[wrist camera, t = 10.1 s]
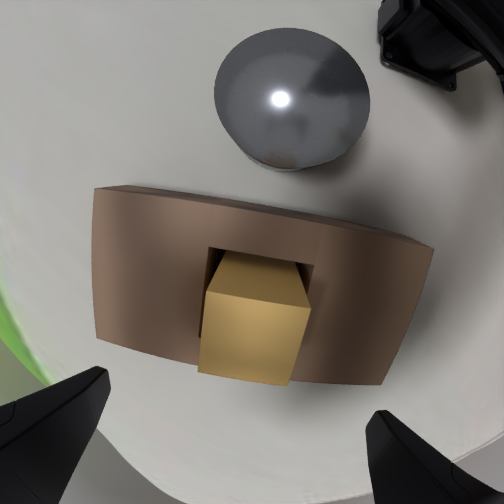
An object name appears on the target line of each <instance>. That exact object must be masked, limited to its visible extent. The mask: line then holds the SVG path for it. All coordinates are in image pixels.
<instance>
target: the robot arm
mask: <svg viewBox="0 0 504 504" xmlns="http://www.w3.org/2000/svg"><path fill="white" fill-rule="evenodd" d="M378 33H379V35H380V36H381V58H382V60H383V61H384V62H386V63H388V64H391V65H393V66H396V67H398V68H401V69H403V70H405V71H408V72H410V73H412V74H415V75H417V76H419V77H421V78H423V79H425V80H427V81H430V82H432V83H434V84H436V85H438V86H440V87H442V88H443V89H445V90H447V91H449V92H453V91H455V90H456V88H457V86H456V73H458V72H460V71H462V70H465V69H467V68H469V67H471V66H474V65H476V64H479V63H481V62H483V61H486V60H487V62H488V63H489V64H490V65H491V66H492V68H493V69H494V70H495V71H496V74H497V76H498V77H499V78H500V79H501V81H504V0H382V2H381V7H380V8H379V10H378ZM386 55H389V57H390V58H388V57H387V56H386ZM449 84H450V85H451V87H450V85H449ZM110 391H111V385H110V379H109V373H108V370H107V369H105V368H102V367H99V366H94V367H92V368H90V369H88V370H86V371H83V372H81V373H79V374H77V375H74V376H72V377H70V378H67V379H65V380H63V381H61V382H58V383H56V384H54V385H51V386H49V387H47V388H44V389H42V390H39V391H37V392H35V393H32V394H30V395H28V396H25V397H23V398H20V399H18V400H16V401H13V402H10V403H8V404H5V405H2V406H0V504H59V501H60V499H61V497H62V495H63V493H64V490H65V489H66V486H67V484H68V482H69V480H70V478H71V476H72V474H73V472H74V470H75V468H76V466H77V464H78V462H79V460H80V458H81V456H82V454H83V452H84V450H85V448H86V446H87V444H88V442H89V441H90V439H91V437H92V435H93V433H94V431H95V429H96V427H97V425H98V422H99V420H100V417H101V414H102V412H103V409H104V407H105V404H106V401H107V399H108V396H109V394H110ZM366 443H367V456H368V466H369V472H370V478H371V483H372V489H373V495H374V501H375V504H504V493H502V492H499V491H497V490H495V489H493V488H491V487H489V486H488V485H486V484H484V483H482V482H481V481H479V480H477V479H476V478H474V477H473V476H471V475H469V474H468V473H466V472H465V471H464V470H462V469H461V468H459V467H458V466H456V465H455V464H454V463H453V462H452V463H451V461H450V460H449V459H448V458H446V457H445V456H444V455H442V454H441V453H440V452H439V451H437V450H436V449H435V448H433V447H432V446H431V445H430V444H428V443H427V442H426V441H425V440H423V439H422V438H421V437H420V436H418V435H417V434H416V433H415V432H413V431H412V430H411V429H410V428H408V427H407V426H406V425H405V424H404V423H402V422H401V421H400V420H399V419H397V418H396V417H395V416H394V415H393V414H391V413H390V412H389V411H387V410H378V411H376V412H375V413H374V414H373V416H372V418H371V419H370V421H369V422H368V424H367V426H366Z"/></svg>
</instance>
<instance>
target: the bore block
mask: <svg viewBox="0 0 504 504" xmlns="http://www.w3.org/2000/svg"><path fill="white" fill-rule="evenodd" d="M218 248H220V249H225V250H231V251H237V252H243V253H248V254H254V255H260V256H265V257H271V258H277V259H283V260H288V261H294V262H300V268H299V275H300V278H301V281H302V284H303V287H304V289H305V292H306V295H307V298H308V301H309V304H310V307H311V311H310V314H309V318H308V321H307V325H306V328H305V332H304V335H303V338H302V342H301V345H300V348H299V351H298V354H297V358H296V361H295V364H294V367H293V370H292V373H291V376H290V379H289V380H292V381H302V382H314V383H328V384H347V385H381V384H382V382H383V380H384V378H385V376H386V374H387V372H388V370H389V368H390V366H391V364H392V362H393V360H394V358H395V356H396V354H397V351H398V349H399V347H400V345H401V342H402V340H403V338H404V335H405V333H406V331H407V328H408V326H409V323H410V321H411V318H412V316H413V313H414V310H415V308H416V305H417V302H418V300H419V297H420V294H421V291H422V288H423V285H424V282H425V279H426V276H427V272H428V269H429V266H430V262H431V259H432V255H433V252H434V249H433V248H431V247H429V246H427V245H425V244H423V243H421V242H419V241H416V240H414V239H412V238H410V237H408V236H406V235H402V234H398V233H394V232H390V231H386V230H382V229H377V228H373V227H369V226H364V225H360V224H355V223H351V222H346V221H341V220H337V219H332V218H327V217H322V216H318V215H313V214H308V213H302V212H297V211H292V210H287V209H281V208H276V207H271V206H265V205H259V204H254V203H248V202H242V201H236V200H230V199H223V198H217V197H211V196H204V195H197V194H190V193H183V192H176V191H169V190H161V189H153V188H145V187H137V186H128V185H122V186H112V187H103V188H94V201H93V216H92V290H93V306H94V318H95V328H96V337H97V338H98V339H101V340H104V341H107V342H110V343H113V344H116V345H120V346H123V347H126V348H130V349H133V350H136V351H140V352H143V353H147V354H151V355H155V356H158V357H162V358H166V359H170V360H174V361H179V362H183V363H187V364H192V365H197V366H198V362H199V352H200V342H201V333H202V324H203V315H204V306H205V298H206V291H207V289H208V286H209V284H210V282H211V280H212V278H213V276H214V271H215V263H216V256H217V249H218Z"/></svg>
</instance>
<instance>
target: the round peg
mask: <svg viewBox="0 0 504 504" xmlns="http://www.w3.org/2000/svg"><path fill="white" fill-rule="evenodd" d="M214 99H215V106H216V110H217V113H218V116H219V118H220V120H221V122H222V125H223V126H224V128H225V129H226V131H227V132H228V134H229V135H230V136H231V138H232V139H233V140H234V141H235V143H236V144H237V145H238V146H239V148H240V149H241V150H242V151H243V153H244V154H245V155H246V156H247V157H248V158H249V159H250V160H252V161H253V162H254V163H256V164H258V165H260V166H261V167H264V168H266V169H270V170H274V171H281V172H288V171H295V170H299V169H303V168H307V167H312V166H316V165H320V164H324V163H326V162H329V161H331V160H333V159H335V158H337V157H339V156H341V155H342V154H343V153H345V152H346V151H347V150H349V149H350V148H351V147H352V146H353V145H354V144H355V143H356V141H357V140H358V139H359V137H360V136H361V134H362V132H363V130H364V129H365V126H366V123H367V121H368V117H369V112H370V95H369V89H368V85H367V82H366V79H365V77H364V74H363V73H362V71H361V69H360V67H359V66H358V64H357V63H356V61H355V60H354V59H353V58H352V57H351V55H350V54H349V53H348V52H347V51H346V50H344V49H343V48H342V47H341V46H340V45H338V44H337V43H335V42H334V41H332V40H330V39H329V38H327V37H325V36H323V35H320V34H318V33H315V32H312V31H308V30H303V29H297V28H277V29H271V30H266V31H263V32H260V33H257V34H255V35H253V36H250V37H248V38H247V39H245V40H244V41H242V42H240V43H239V44H238V45H237V46H236V47H234V48H233V49H232V50H231V52H230V53H229V54H228V55H227V56H226V58H225V59H224V61H223V62H222V64H221V66H220V68H219V70H218V73H217V77H216V80H215V87H214Z"/></svg>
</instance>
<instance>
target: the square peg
mask: <svg viewBox="0 0 504 504" xmlns="http://www.w3.org/2000/svg"><path fill="white" fill-rule="evenodd" d="M310 311H311V307H310V304H309V301H308V298H307V295H306V292H305V289H304V287H303V284H302V281H301V278H300V275H299V272H298V270H297V267H296V264H295V262H294V261H288V260H283V259H277V258H271V257H265V256H260V255H254V254H248V253H243V252H237V251H231V250H226V252H225V254H224V256H223V258H222V260H221V262H220V264H219V266H218V268H217V270H216V272H215V274H214V276H213V278H212V280H211V282H210V284H209V286H208V289H207V291H206V298H205V306H204V315H203V324H202V333H201V342H200V352H199V362H198V372H201V373H206V374H211V375H216V376H221V377H226V378H232V379H238V380H244V381H251V382H258V383H265V384H273V385H281V386H287V385H288V382H289V379H290V376H291V373H292V370H293V367H294V364H295V361H296V358H297V354H298V351H299V348H300V345H301V342H302V338H303V335H304V332H305V328H306V325H307V321H308V318H309V314H310Z"/></svg>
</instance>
